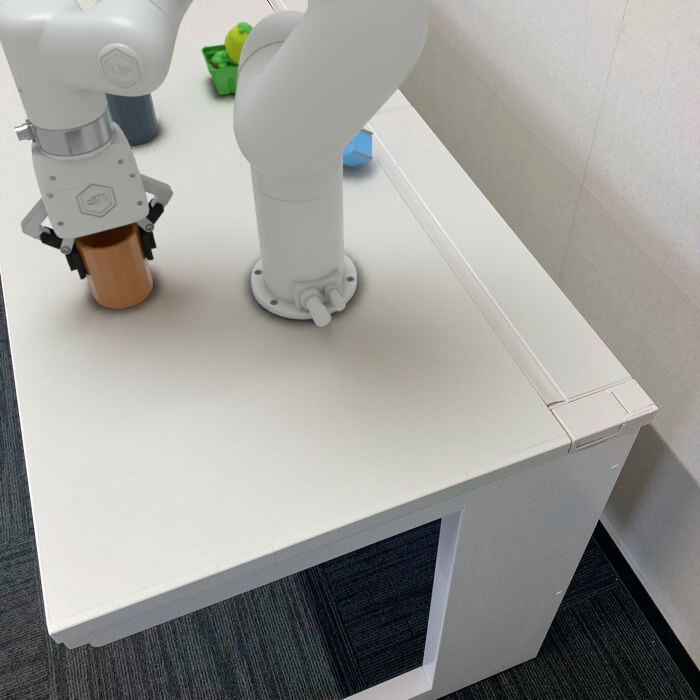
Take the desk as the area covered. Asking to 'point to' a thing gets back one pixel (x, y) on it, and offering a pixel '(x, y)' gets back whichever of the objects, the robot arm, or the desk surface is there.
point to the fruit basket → (226, 58)
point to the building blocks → (358, 149)
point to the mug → (134, 117)
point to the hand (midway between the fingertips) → (115, 261)
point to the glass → (116, 266)
